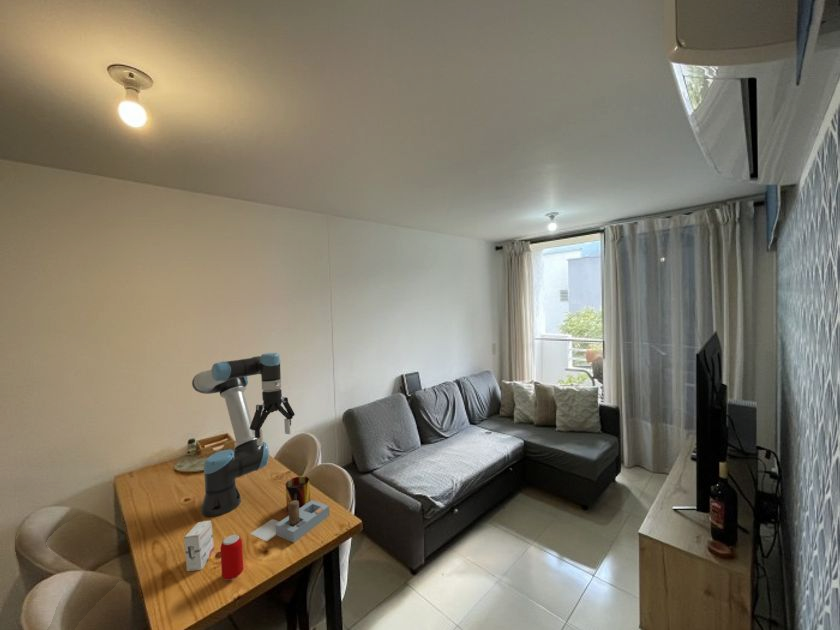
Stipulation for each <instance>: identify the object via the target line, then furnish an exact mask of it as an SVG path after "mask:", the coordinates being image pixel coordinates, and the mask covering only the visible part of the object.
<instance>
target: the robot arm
mask: <svg viewBox="0 0 840 630" xmlns="http://www.w3.org/2000/svg"><path fill="white" fill-rule="evenodd" d="M257 375H260V376H261V379H260V380H261V391H262V392H261V394H262V396H261V397H262V404H256V406H255V412H254V415H253V417H252V418H251V414H250V411H249V408H248V404H247V401H246V398H245V394H244V392H245V390H246V387H247V386H248V383H249V382H248V377H250V376H251V377H252V376H257ZM281 378H282V377H281V358H280V354H279V353H277V352H268V353H262V354H261V355H257V356H253V357H248V358H241V359H235V360H229V361H228V360H227V361H226V360H225V361H220V362H215V363H213V364H212V366H211V369H209V370H204V371H201V372H198V373H197V374H196V375H194V377H193V378H192V381H191V384H192V385H191V386H192V389H194V391H196V392H197V393H200V394H206V395H207V394H208V395H209V394H217V393H219V396H220V397H221V398H223V399H224V401H225V405H226V408H227V412H228V415H229V420H230V423H231V427H232V430H233V434H234V438H235V442H236V444H235V446H234V448H233V449H234V450H233V449H225V450H224V449H222V450H220V451H217V452H214V453H213V454H211V455H209V456H208V457H207V458H206V459H205V460H204V463H203V467H204V468H203V473H204V474H203V475H204V491H205V494H204V497H203V501H202V504H201V514H202V515H203V516H206V517H215V516H221V515H224V514H227V513H229V512H231V511H233V510H234V509H236V508H237V507H238V506H239V505H241V502H242V501H241V500H242V498H241V494H240V492H239V490H238V488H237V485H236V479H237V478H240V477H243V476H245V475H248V474H251V473H253V472H255V471H256V472H257V471H259V470H260V469H263V468H264V467H266V466H267V464H268V462H269V458H270V457H269V456H270V453H269V452H270V451H269V446H268V444H267V442H265V441H263V429H261V428H262V426H263V424H264V423H265V421H266V420H267V417H268V416H270V414H271V413H274V412H277V411H279V413H280V414H281V415H282V416H283V417H285V418H284V419H283V421H284V434H286V435H291V426H292V419H293V417H295V415H296V414H295V411H294V410H293V408H292V405H291V404H290V403H289V398H288V397H286V396H282V395H283V394H282V389H281V388H282V379H281ZM282 405H283V406H282ZM284 408H285V409H284Z"/></svg>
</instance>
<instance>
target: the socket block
mask: <svg viewBox="0 0 840 630" xmlns="http://www.w3.org/2000/svg"><path fill="white" fill-rule="evenodd" d="M299 516H300V522H299V523H298V524H297V525H295V526H294V527H292V526H290V525H289V515H288V516H286V517H284V518H283V519H281V520H280V521H279V522H278V523H277V524H275V525H276V535H275V536H277V537H280V538H282V539H284V540H285V541H286V540H287V541H289V542H291V543H293V544H294V543H296V542H297V541H298V540H300V539H301V538H302V537H304V536H305V535H306V534H307V533H309V532H310V531H311V530H313V529H314V528H315V527H317V526H318V525H320V524H321V523H322V522H323V521H324V520H326V519H327V518H328V517H330V505H328V504H326V503H325V504H324V503H322V502H319V501H316V500H314V499H312V500H311V499H310V502H308V503H307V504H305V505H304V506H302V507H301V508H299Z"/></svg>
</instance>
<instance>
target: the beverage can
mask: <svg viewBox="0 0 840 630" xmlns="http://www.w3.org/2000/svg"><path fill="white" fill-rule="evenodd" d="M219 550H220V564H221V578H222V579H223V580H225V581H231V580H234V579H236V578H238V577H239V576H240V575H241V574H242V573H243V571H244V555H243V553H244V552H243V538H241V536H239V534H232V535H228V536H227V537H225V538H224V539H223V541H222V542H221V544H220V549H219Z"/></svg>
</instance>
